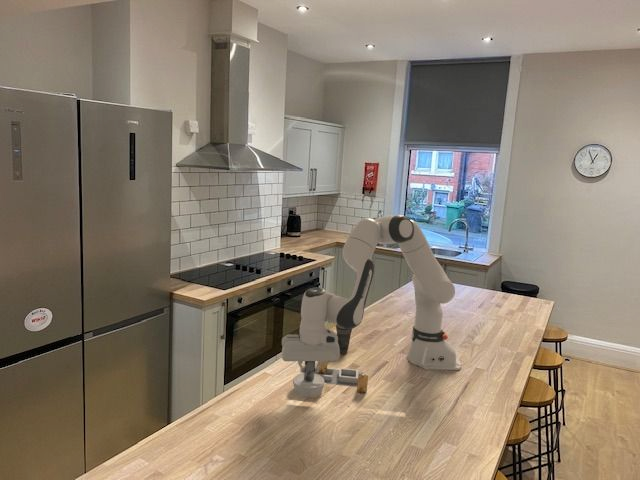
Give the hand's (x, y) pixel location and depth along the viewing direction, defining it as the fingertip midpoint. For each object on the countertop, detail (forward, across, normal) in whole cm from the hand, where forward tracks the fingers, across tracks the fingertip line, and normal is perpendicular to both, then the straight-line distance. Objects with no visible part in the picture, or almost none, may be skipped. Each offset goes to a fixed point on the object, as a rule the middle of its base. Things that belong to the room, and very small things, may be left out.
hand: (309, 371), depth 165 cm
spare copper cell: (+7, +7, +11) cm, 15 cm away
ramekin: (+8, 0, 0) cm, 9 cm away
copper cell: (+8, +19, -1) cm, 21 cm away
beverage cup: (+8, +20, +35) cm, 41 cm away
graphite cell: (+3, 0, 0) cm, 3 cm away
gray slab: (+8, +12, +10) cm, 17 cm away
